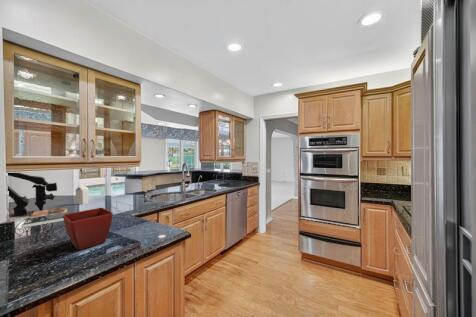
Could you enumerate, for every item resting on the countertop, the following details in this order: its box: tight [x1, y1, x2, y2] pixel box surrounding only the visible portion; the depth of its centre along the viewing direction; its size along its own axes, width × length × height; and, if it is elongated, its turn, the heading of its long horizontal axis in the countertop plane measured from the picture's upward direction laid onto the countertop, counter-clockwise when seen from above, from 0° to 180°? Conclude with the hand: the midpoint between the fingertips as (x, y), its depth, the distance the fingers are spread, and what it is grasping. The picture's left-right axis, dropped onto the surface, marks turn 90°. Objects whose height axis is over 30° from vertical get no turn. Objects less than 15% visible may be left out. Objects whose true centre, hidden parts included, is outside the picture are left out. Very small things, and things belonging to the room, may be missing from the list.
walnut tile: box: [50, 206, 65, 215], centre depth 168 cm, size 8×10×2 cm
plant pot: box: [62, 207, 114, 251], centre depth 114 cm, size 19×19×17 cm
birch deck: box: [28, 208, 68, 219], centre depth 165 cm, size 22×14×2 cm, turn 131°
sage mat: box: [21, 216, 64, 229], centre depth 154 cm, size 26×22×1 cm
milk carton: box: [75, 184, 90, 205], centre depth 195 cm, size 7×7×19 cm
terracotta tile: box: [32, 208, 49, 218], centre depth 161 cm, size 8×10×2 cm
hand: (41, 211), depth 167 cm, fingers closed
